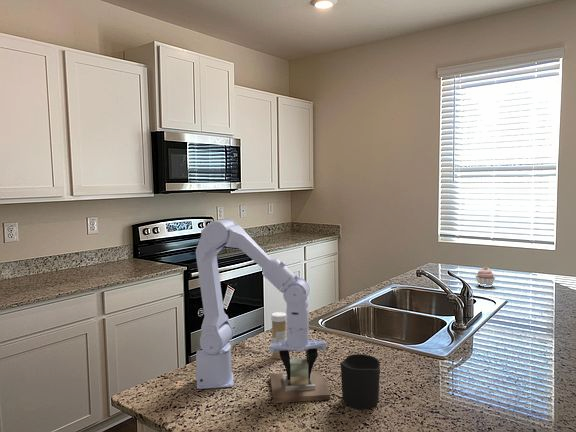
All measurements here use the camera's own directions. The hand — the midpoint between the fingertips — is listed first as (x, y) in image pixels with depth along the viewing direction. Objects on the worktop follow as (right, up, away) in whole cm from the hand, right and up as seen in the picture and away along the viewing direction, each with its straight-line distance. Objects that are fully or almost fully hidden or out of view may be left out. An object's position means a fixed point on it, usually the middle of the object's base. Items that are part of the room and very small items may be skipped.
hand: (298, 377), depth 117 cm
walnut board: (0, -3, 0) cm, 3 cm away
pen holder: (+15, -3, -7) cm, 17 cm away
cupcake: (+95, +7, +106) cm, 142 cm away
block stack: (0, -2, 0) cm, 2 cm away
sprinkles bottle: (-5, -1, +22) cm, 22 cm away
